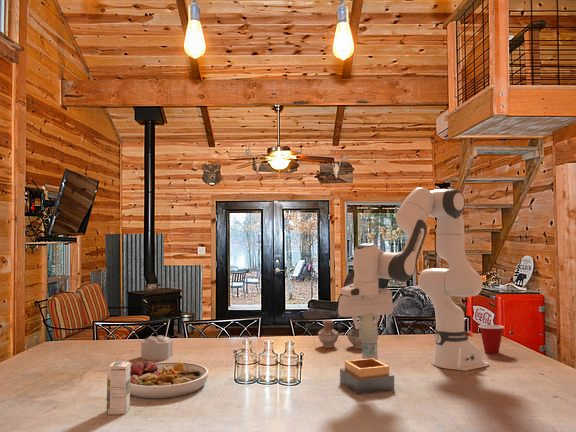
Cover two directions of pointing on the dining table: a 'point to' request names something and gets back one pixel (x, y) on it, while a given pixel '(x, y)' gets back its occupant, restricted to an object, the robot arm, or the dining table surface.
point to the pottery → (331, 336)
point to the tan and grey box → (366, 376)
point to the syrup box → (118, 388)
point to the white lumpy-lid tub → (156, 348)
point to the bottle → (370, 346)
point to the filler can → (366, 327)
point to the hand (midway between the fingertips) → (366, 328)
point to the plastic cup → (491, 337)
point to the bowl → (166, 379)
